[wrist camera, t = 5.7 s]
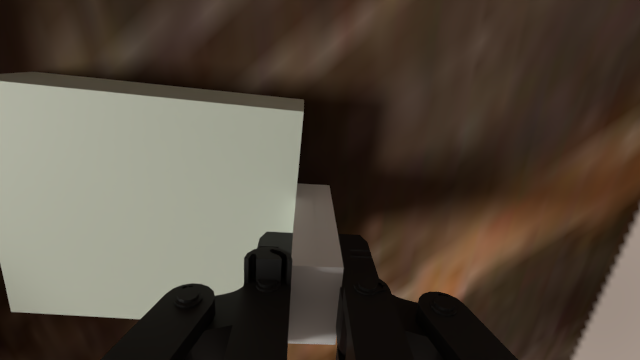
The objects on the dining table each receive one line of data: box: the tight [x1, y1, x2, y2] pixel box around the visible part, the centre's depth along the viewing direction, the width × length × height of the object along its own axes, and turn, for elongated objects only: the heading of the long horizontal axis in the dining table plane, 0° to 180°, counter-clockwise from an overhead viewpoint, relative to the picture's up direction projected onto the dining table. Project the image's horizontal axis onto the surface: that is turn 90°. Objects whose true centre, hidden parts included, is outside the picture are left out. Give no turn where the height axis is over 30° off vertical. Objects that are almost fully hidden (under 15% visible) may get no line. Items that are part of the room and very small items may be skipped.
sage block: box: [0, 72, 304, 319], centre depth 16 cm, size 12×10×4 cm
